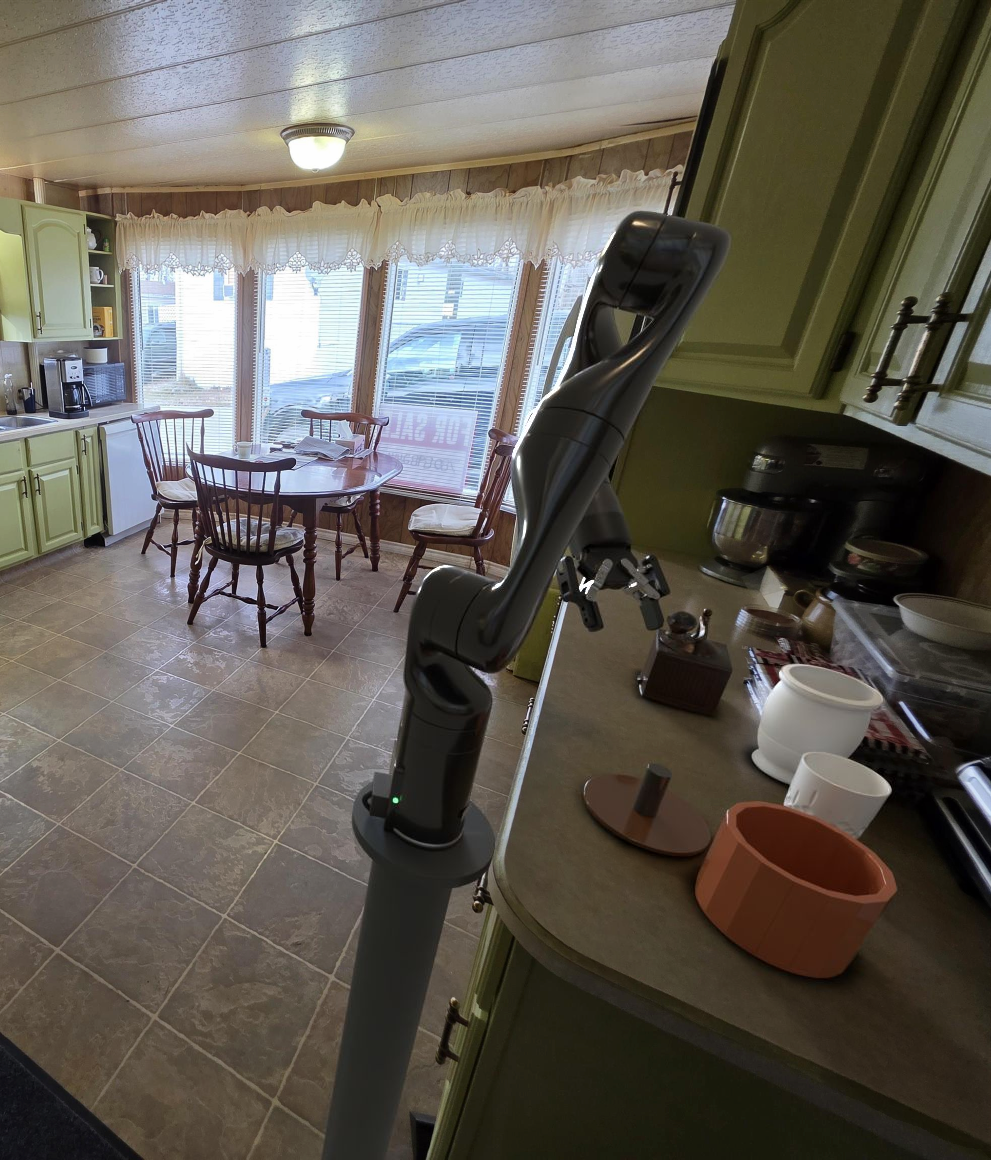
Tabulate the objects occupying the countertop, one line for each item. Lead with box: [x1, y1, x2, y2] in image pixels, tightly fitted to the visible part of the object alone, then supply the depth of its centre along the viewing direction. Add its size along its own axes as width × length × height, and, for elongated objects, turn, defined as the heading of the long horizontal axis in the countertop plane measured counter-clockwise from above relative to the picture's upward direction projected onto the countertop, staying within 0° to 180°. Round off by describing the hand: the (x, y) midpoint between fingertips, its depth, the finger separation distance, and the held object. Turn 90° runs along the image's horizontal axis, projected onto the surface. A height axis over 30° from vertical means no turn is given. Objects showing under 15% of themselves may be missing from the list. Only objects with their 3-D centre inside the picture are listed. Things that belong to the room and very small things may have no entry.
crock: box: [694, 800, 898, 979], centre depth 64 cm, size 13×13×10 cm
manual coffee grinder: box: [636, 608, 733, 717], centre depth 102 cm, size 16×11×18 cm
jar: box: [751, 663, 884, 786], centre depth 86 cm, size 11×10×15 cm
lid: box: [582, 763, 711, 857], centre depth 78 cm, size 14×14×8 cm
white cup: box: [783, 752, 893, 840], centre depth 75 cm, size 8×8×10 cm
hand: (626, 629), depth 82 cm, fingers open, 8 cm apart
